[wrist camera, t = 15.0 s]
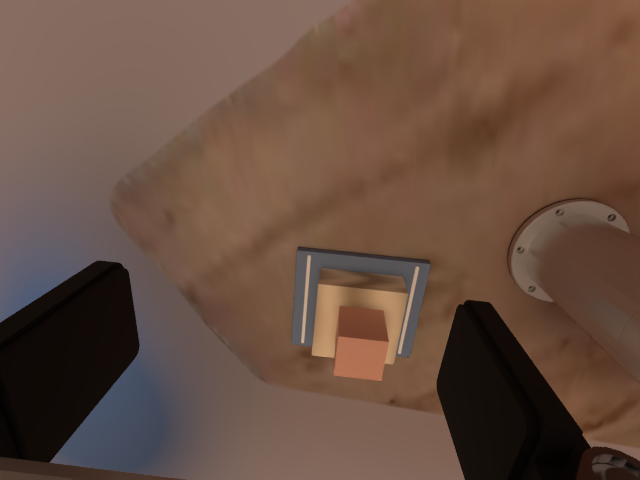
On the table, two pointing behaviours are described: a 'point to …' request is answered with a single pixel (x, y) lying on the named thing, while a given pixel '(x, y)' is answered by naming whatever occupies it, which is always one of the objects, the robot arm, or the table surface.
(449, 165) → the table surface
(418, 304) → the board
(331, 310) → the maple base block
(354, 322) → the terracotta block
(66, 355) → the robot arm
